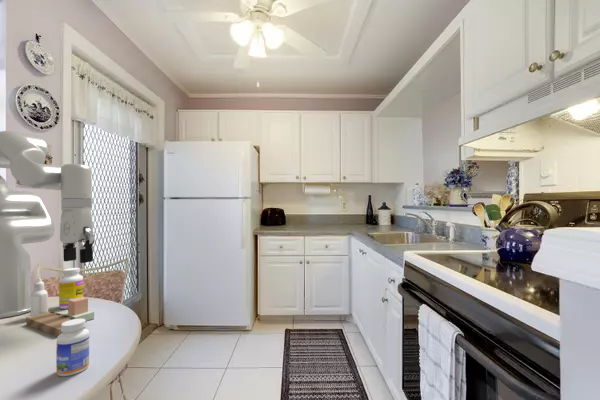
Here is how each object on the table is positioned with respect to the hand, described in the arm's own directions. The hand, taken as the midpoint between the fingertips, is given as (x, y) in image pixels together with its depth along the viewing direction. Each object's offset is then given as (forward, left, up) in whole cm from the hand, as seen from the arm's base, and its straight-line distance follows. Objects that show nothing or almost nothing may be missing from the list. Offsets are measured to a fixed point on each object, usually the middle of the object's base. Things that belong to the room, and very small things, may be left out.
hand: (78, 261), depth 90 cm
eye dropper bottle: (-14, -4, -18) cm, 23 cm away
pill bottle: (+32, -15, -18) cm, 39 cm away
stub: (0, 0, -17) cm, 17 cm away
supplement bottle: (-17, +6, -18) cm, 25 cm away
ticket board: (0, -6, -18) cm, 18 cm away
